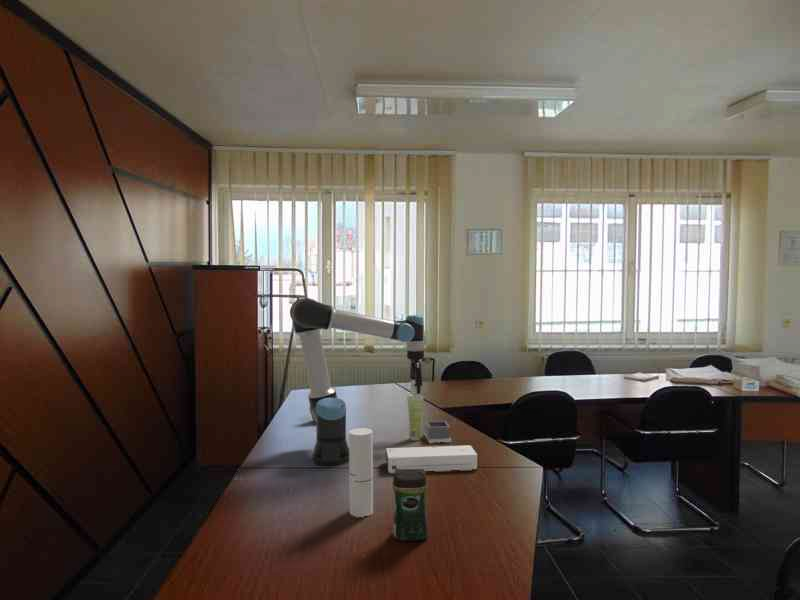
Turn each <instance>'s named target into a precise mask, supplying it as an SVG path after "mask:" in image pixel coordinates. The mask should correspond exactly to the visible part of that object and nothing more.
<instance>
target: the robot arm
mask: <svg viewBox="0 0 800 600" xmlns="http://www.w3.org/2000/svg"><path fill="white" fill-rule="evenodd" d="M289 316H290V318H291V320H292V324H293V329H294V333H295V335H297V336H299V340H300V344H301V348H302V349H301V350H302V354H303V359H304V364H305V369H306V375H307V378H308V383H309V384H308V385H309V389H310V392H309V394H308V401H309V412H310V415H311V418H312V417H313V418H314V420H315V421H316V422H315V421H314V420H313V421H314V422H315V424H316V425H315V426H316V440H315V441H316V442H315V444H314V448H313V451H312V455H311V457H312V459H311V460H312V463H314V464H316V465H319V466H325V465H326V467H327V465H328V466H329V467H330V466H332V467H333V466H339V465H342V464H346V463H348V462H349V443H348V441H347V407H346V402H345V401H344V400H343V399H341V398H338V396H337V392H336V389H335V388H334V387H332V386H331V379H330V374H329V370H328V369H329V368H328V364H327V361H326V356H325V350H324V346H323V340H322V335H321V331H322V330H329V329H336V330H341V331H347V332H351V333H352V332H353V333H357V334H364V335H368V336H373V337H378V338H379V337H380V338H382V339H387V340H388V339H390V340H394V341H400V342H402V343H406V349H407V350H406V358H407V359H408V360H410V372H409V374H410V375H409V377H410V394H411V395H414V396H415V401H422V396H423V394H422V393H423V392H422V389H423V388H422V386H423V379H422V378H423V377H422V365H421V364H422V363H421V362H420V360H423V359H424V358H425V351H424V348H425V345H426V342H424V340H425V339H424V337H425V335H424V333H425V332H424V330H425V329H424V328H425V327H424V326H425V323H424V317H423V315H421V314H420V315H419V314H413V315H412V314H411V315H410V314H409V315H407V316H406V319H405V320H391V319H385V318H381V317H380V318H379V317H376V316H370V315H366V314H360V313H356V312H351V311H348V310H346V311H345V310H340V309H336V308H334V307H333V306H332V305H328V304H324V303H323V302H319V301H317V300H315V299H312V298H309V297H302V298H298V299H297V300H295V301H294V302H293V303H292V305H291V306H290V310H289Z"/></svg>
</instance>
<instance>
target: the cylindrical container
mask: <svg viewBox="0 0 800 600" xmlns="http://www.w3.org/2000/svg"><path fill="white" fill-rule="evenodd" d="M373 433H374V432H373V430H372V429H370V428H365V427H364V428H363V427H362V428H361V427H358V428H353V429H350V430H349V431H348V447H349V461H348V462H349V468H348V469H349V474H348V475H349V477H348V479H349V480H348V481H349V514H351V515H353V516H352V517H354V516H356V517H355V518H358V517H362V518H365V517H364V516H368V517H369V515H370V516H371V515H373V514H374V477H373V475H374V470H373V469H374V467H373V466H374V464H373V463H374V459H373V458H374V457H373V456H374V454H373V453H374V452H373V450H374V449H373V443H374V442H373V440H374V439H373V438H374V437H373ZM351 515H350V516H351Z"/></svg>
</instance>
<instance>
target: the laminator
mask: <svg viewBox="0 0 800 600" xmlns="http://www.w3.org/2000/svg"><path fill="white" fill-rule="evenodd" d="M478 457H479V454H478V453H477V451H476V450H475V449H474V447H473V446H472V445H471V444H470V445H466V444H465V445H443V446H442V445H440V446H439V445H438V446H420V447H419V446H414V447H412V446H411V447H409V446H408V447H387V448H385V462H386V468H387V472H388V473H389V474H394V472H395V470H396V469H424V471H435V472H452V471H451V470H460V471H473V470H472V469H477V470H478V467H479V466H478V465H479V458H478Z"/></svg>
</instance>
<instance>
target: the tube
mask: <svg viewBox="0 0 800 600" xmlns="http://www.w3.org/2000/svg"><path fill="white" fill-rule="evenodd" d="M424 398H425V396H424V395H422V401H415V395H413V396H412V395H411V396H408V395H407V397H406V399H407V406H408V418H409V419H408V425H409V428H408V429H409V440H410V441H415V442H416V441H420V440H421V438H422V420H423V419H422V418H423V417H422V416H423V406H424Z"/></svg>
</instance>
